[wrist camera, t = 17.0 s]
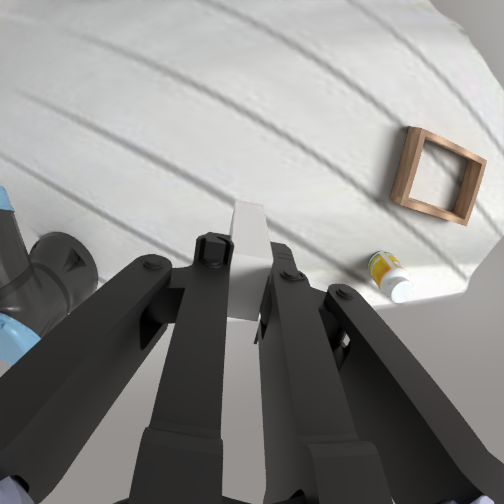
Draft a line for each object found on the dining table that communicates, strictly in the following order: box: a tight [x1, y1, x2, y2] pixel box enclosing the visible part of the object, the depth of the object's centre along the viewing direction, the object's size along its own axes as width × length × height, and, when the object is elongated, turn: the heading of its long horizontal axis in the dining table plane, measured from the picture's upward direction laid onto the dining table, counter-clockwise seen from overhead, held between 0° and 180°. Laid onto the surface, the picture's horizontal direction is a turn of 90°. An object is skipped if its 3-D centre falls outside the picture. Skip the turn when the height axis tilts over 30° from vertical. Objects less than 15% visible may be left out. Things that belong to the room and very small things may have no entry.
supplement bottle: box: [368, 251, 413, 303], centre depth 48 cm, size 5×5×10 cm
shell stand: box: [390, 126, 487, 226], centre depth 43 cm, size 16×12×4 cm
